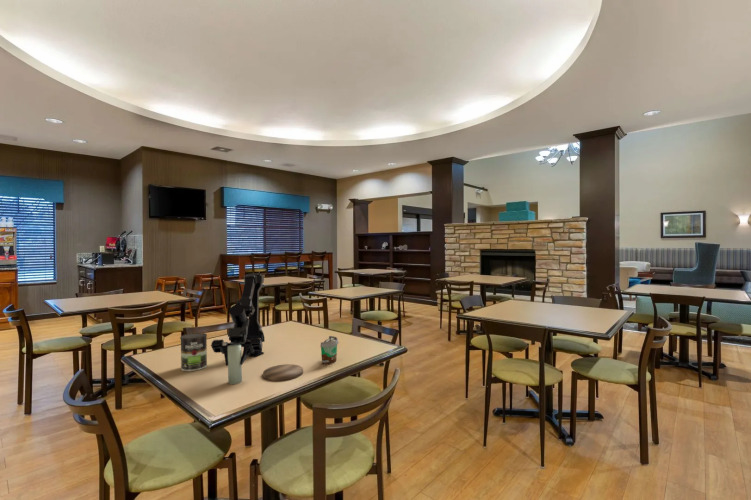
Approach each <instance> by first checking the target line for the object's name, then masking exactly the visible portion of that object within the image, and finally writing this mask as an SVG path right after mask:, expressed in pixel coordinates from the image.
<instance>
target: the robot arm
mask: <svg viewBox="0 0 751 500" xmlns="http://www.w3.org/2000/svg"><path fill="white" fill-rule="evenodd" d="M243 277H244V278H243V280H244V281H243V282H244V285H243V288H242V293H241V298H240V299H238V301H237V300H236V301H237V302H235V304H234V305H232V306H231V307H230V308H229V310H228V313H229V316H230V318H231V321H232V322H233V323H234V324H233V327H230V328H228V333H227V337H228V340H229V341H230V342H227V341H224V339H213V340H212V341H211V343H210V346H211V348H212V351H213V353H215V354H216V353H221V354H222V355H224V361H225V366H226V367H228V346H230V345H235V344H240V345H241V348H242V349H243V351H242V353H241V354H242V358H241V363H240V364H241V365H242V366H243V364H244V363H245V361H246V360H247V359H248V357H253V358H255V357H257V356H261V355H263V354H265V352H264V351H263V342H264V343H265V333H264V331H263V329H262V325H261V323H260V321H259V311H260V310H259V308H260V307H259V306H260V291H261V290H262V288H263V286H264V284H263V283H264V281H265V276H264V275H262V273H248V274H247V275H244V276H243Z"/></svg>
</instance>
